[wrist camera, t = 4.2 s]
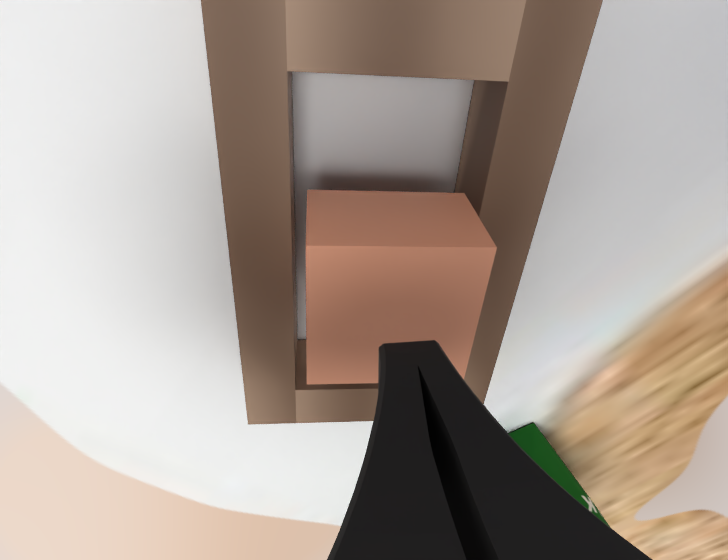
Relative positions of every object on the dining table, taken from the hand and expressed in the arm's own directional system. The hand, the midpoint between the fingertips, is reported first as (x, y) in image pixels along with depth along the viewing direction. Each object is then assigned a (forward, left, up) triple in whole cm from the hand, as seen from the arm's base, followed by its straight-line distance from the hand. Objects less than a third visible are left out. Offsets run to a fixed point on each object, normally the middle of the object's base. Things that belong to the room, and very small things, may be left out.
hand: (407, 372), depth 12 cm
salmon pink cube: (0, 0, -6) cm, 6 cm away
